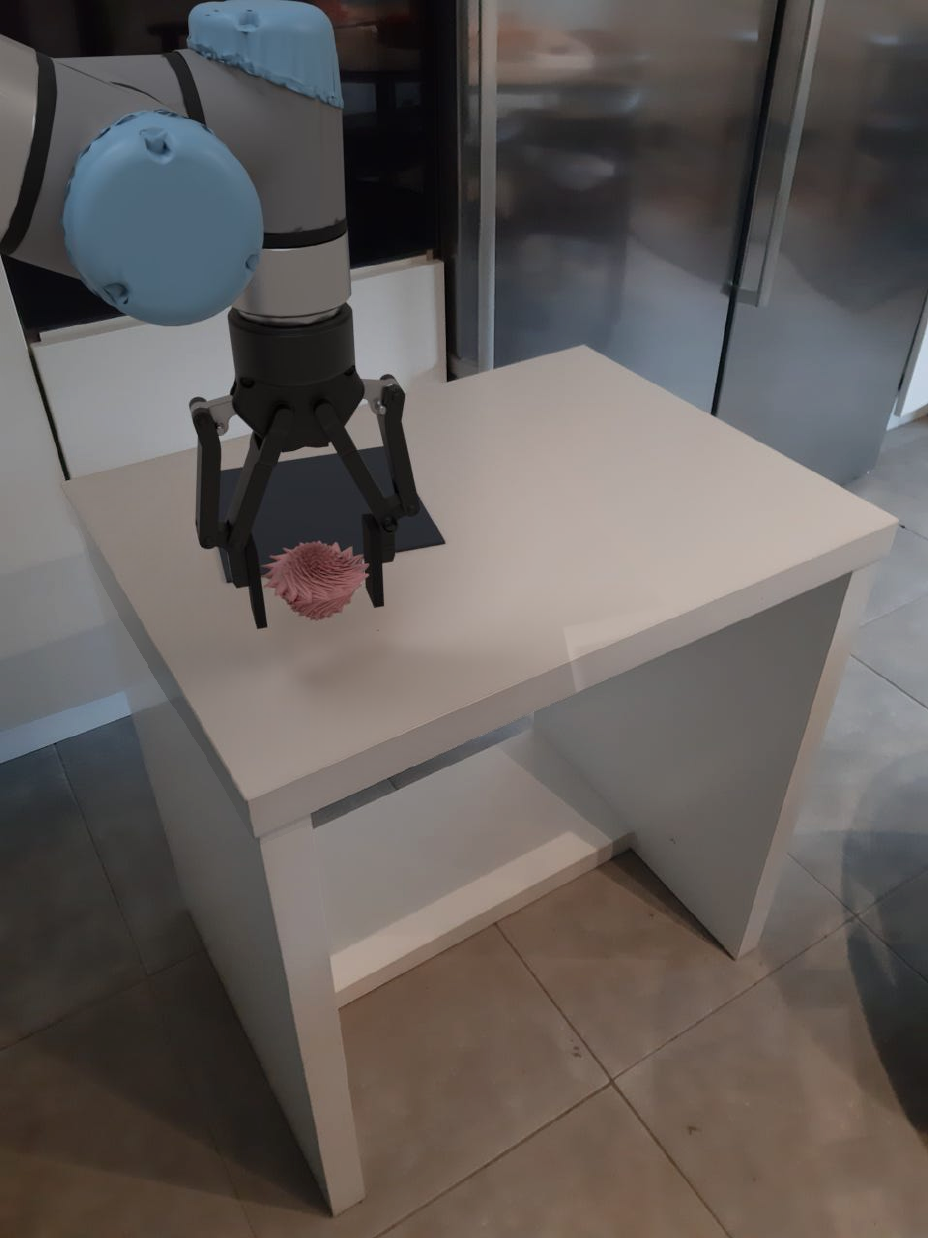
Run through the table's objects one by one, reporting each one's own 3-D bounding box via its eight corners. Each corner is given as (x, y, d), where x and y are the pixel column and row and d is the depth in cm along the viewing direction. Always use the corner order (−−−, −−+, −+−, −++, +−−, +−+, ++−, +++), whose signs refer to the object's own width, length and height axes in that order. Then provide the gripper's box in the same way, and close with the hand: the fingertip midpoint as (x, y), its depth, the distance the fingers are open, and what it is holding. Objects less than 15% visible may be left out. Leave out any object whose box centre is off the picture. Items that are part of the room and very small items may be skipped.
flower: (258, 644, 70) (249, 580, 66) (270, 580, 76) (262, 518, 73) (370, 642, 70) (366, 578, 67) (373, 578, 76) (370, 517, 73)
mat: (226, 582, 86) (226, 580, 85) (200, 475, 101) (200, 473, 100) (445, 543, 91) (445, 540, 90) (389, 447, 106) (389, 444, 105)
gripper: (436, 269, 65) (436, 557, 78) (106, 299, 59) (169, 603, 73) (472, 307, 59) (466, 610, 73) (112, 344, 54) (179, 664, 67)
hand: (318, 606), depth 73 cm, fingers closed on flower, 8 cm apart
